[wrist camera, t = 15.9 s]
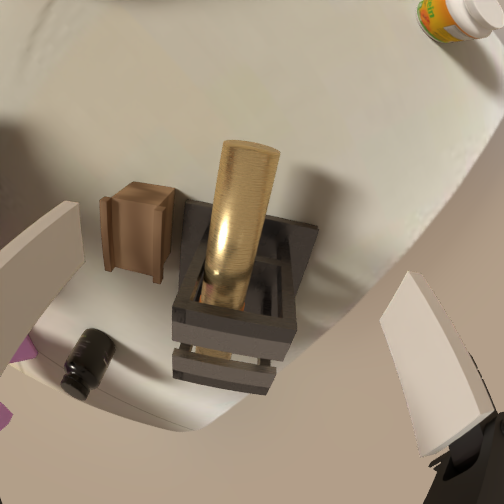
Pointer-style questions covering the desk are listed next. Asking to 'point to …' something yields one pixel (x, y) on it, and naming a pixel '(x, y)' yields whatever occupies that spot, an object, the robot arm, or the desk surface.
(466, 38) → the supplement bottle
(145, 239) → the block
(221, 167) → the air tube
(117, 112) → the desk surface
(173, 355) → the collar stand
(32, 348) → the pink table lamp
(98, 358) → the supplement bottle
